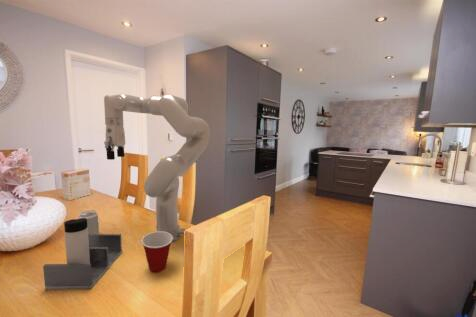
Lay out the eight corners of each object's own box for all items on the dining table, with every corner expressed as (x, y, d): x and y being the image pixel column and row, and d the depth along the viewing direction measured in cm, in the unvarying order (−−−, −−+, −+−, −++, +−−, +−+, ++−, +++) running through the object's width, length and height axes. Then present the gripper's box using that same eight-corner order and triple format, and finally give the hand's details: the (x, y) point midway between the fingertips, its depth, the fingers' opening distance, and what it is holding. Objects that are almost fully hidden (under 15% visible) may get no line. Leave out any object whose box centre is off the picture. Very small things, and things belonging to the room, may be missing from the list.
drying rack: (121, 252, 92) (121, 234, 91) (90, 288, 71) (89, 265, 70) (87, 252, 91) (85, 234, 90) (45, 289, 70) (43, 266, 69)
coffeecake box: (84, 193, 168) (83, 168, 165) (91, 195, 165) (89, 169, 162) (62, 199, 154) (60, 171, 151) (69, 200, 151) (67, 172, 149)
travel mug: (65, 283, 71) (61, 224, 69) (70, 271, 77) (66, 217, 75) (89, 278, 74) (85, 221, 72) (91, 267, 80) (88, 214, 78)
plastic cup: (155, 282, 75) (154, 249, 73) (135, 270, 80) (134, 239, 79) (179, 265, 84) (179, 235, 82) (160, 256, 90) (159, 228, 88)
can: (89, 241, 100) (88, 216, 98) (75, 239, 101) (73, 214, 100) (102, 233, 107) (101, 210, 105) (89, 232, 108) (88, 208, 107)
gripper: (113, 122, 97) (115, 160, 99) (130, 122, 114) (131, 155, 116) (95, 121, 96) (97, 160, 99) (115, 122, 113) (116, 155, 116)
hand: (116, 158), depth 107 cm, fingers open, 9 cm apart
